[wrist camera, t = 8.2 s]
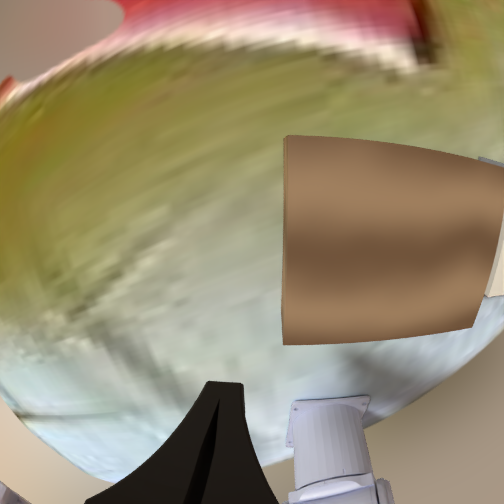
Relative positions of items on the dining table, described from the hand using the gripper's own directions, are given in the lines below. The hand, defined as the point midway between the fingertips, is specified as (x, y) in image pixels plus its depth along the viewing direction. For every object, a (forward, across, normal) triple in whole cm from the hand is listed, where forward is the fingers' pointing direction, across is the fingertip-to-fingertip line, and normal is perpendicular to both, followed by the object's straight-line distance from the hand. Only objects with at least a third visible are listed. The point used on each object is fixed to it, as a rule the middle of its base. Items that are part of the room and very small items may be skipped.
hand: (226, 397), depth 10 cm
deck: (+10, -10, -4) cm, 15 cm away
